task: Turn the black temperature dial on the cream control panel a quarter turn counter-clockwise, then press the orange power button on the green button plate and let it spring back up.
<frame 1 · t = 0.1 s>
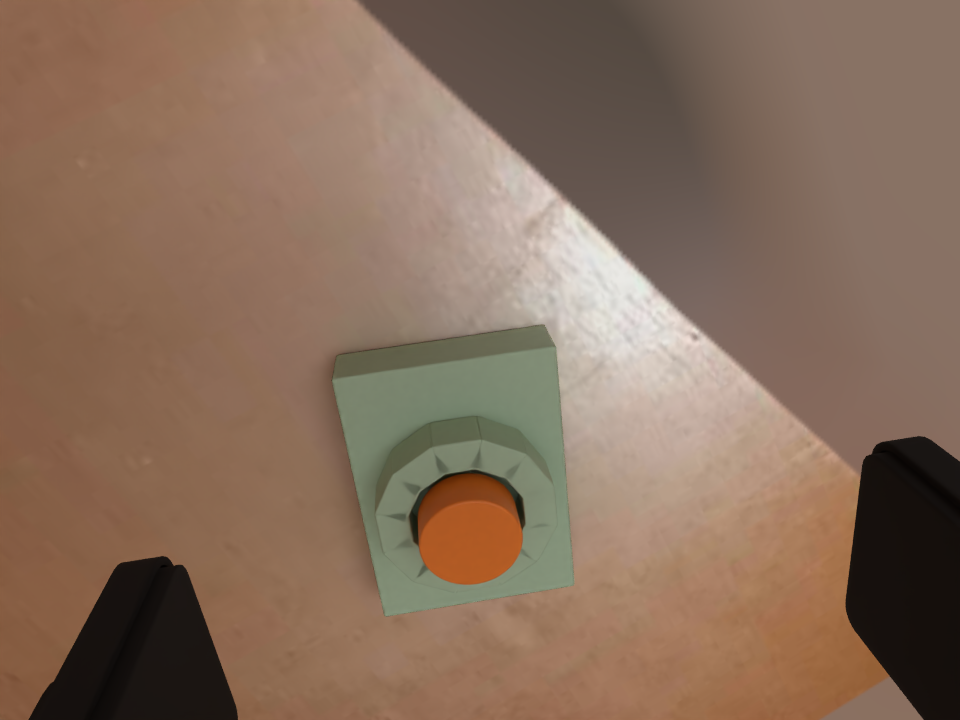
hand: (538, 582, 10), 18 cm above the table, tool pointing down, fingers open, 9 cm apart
green button plate: (459, 461, 30), on the table
kettle switch: (469, 528, 26), point 4 cm above the table, slide at 0.1 cm
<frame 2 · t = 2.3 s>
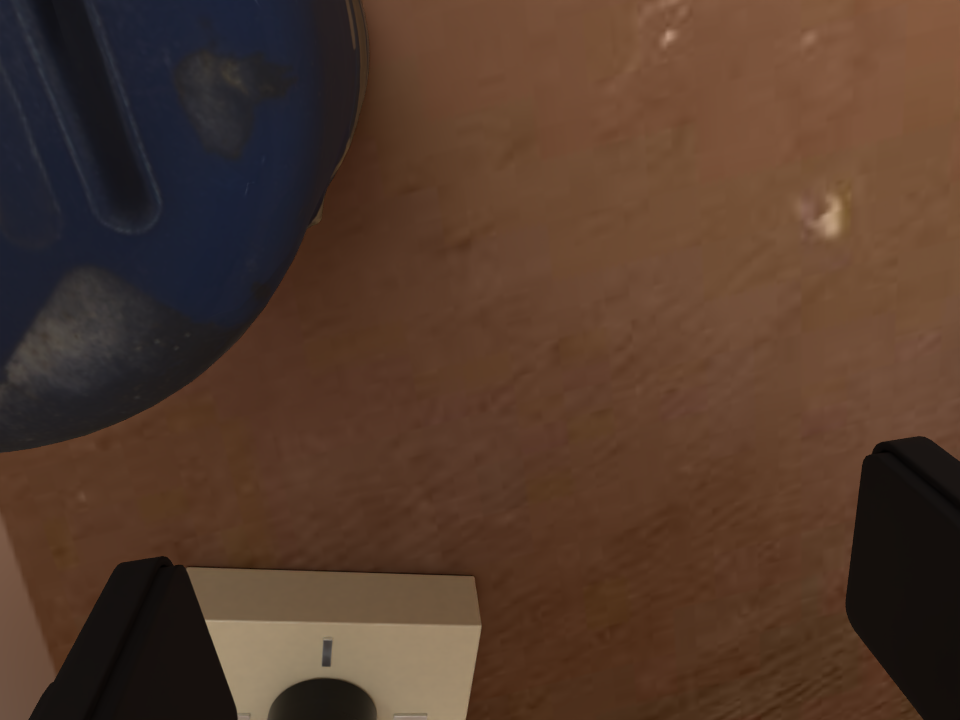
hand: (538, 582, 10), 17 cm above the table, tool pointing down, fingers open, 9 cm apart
canister: (216, 45, 22), on the table
dial panel: (329, 659, 32), on the table
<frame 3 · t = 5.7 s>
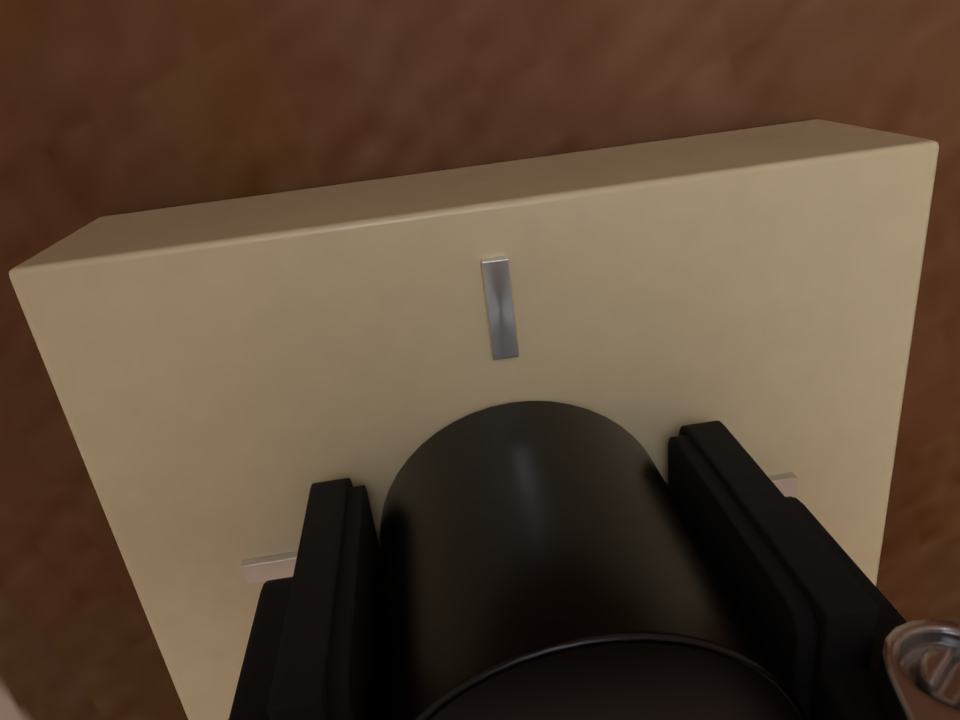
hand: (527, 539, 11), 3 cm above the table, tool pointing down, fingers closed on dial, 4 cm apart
dial: (554, 645, 9), point 5 cm above the table, hinge at 0.1°, touching gripper
dial panel: (498, 429, 14), on the table
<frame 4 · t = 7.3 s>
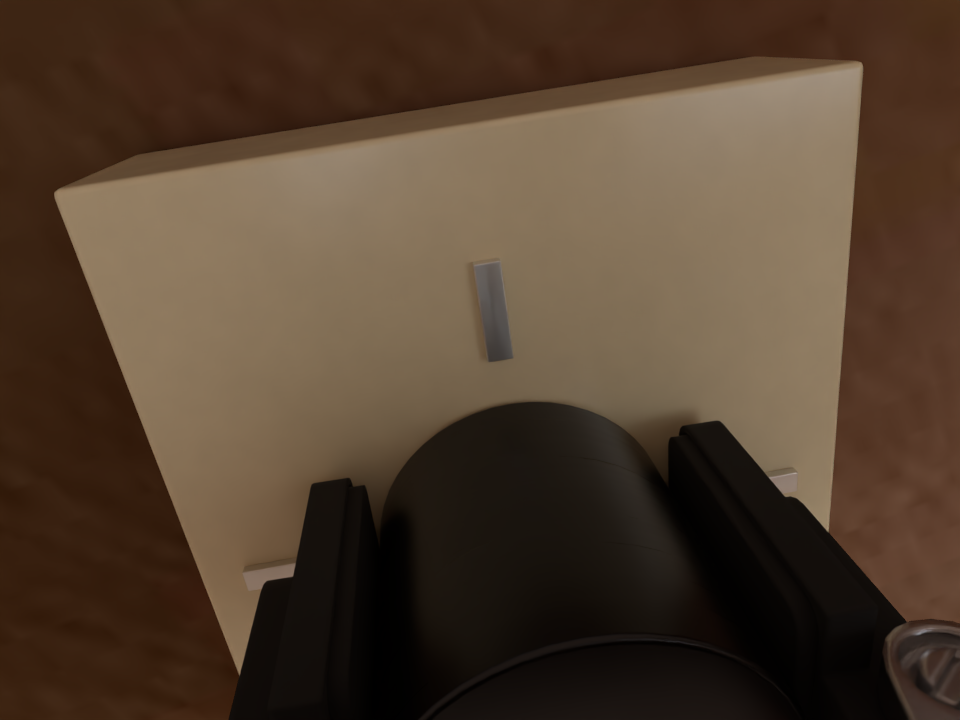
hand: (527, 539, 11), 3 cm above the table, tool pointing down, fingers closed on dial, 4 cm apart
dial: (555, 645, 9), point 5 cm above the table, hinge at 88.6°, touching gripper
dial panel: (499, 430, 14), on the table
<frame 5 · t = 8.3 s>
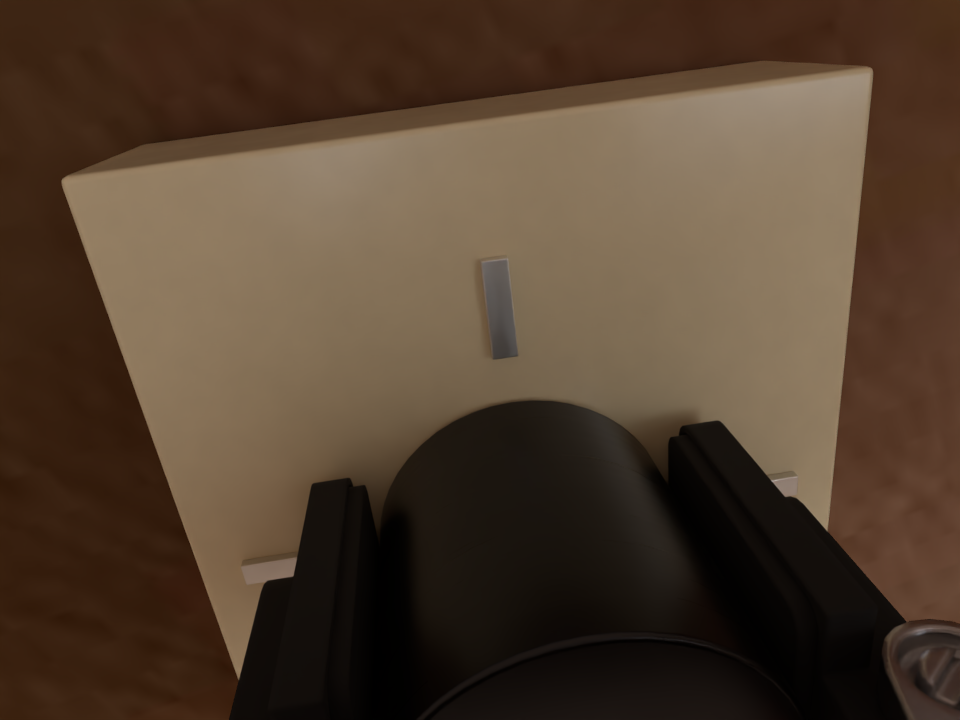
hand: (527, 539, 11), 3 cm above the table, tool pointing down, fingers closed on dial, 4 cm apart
dial: (555, 644, 9), point 5 cm above the table, hinge at 89.7°, touching gripper
dial panel: (499, 428, 14), on the table
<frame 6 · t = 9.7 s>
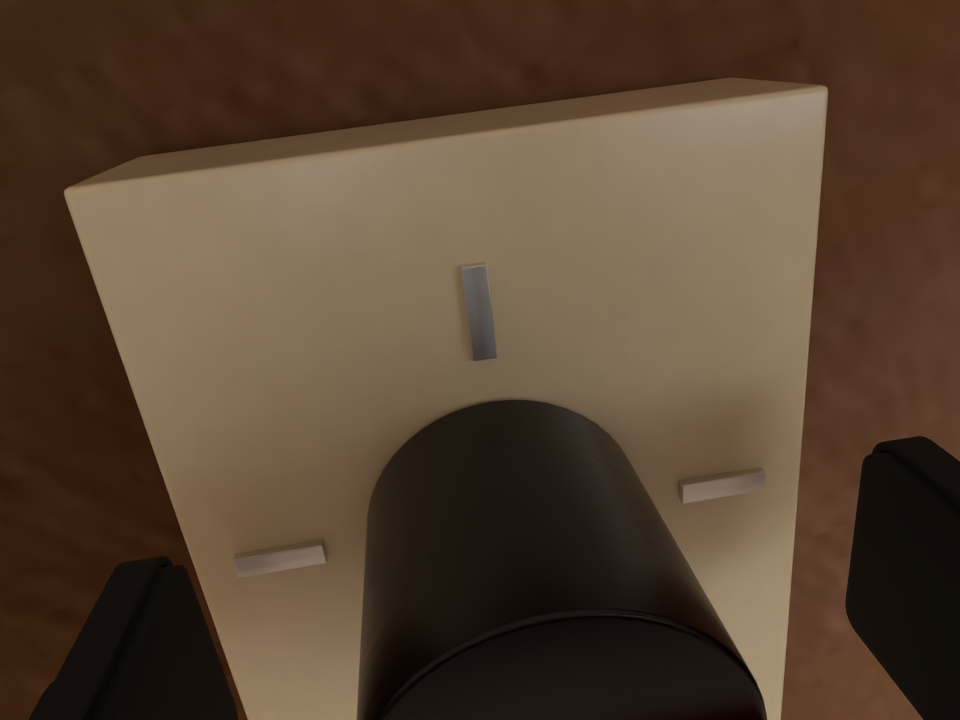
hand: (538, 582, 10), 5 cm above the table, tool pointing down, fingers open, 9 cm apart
dial: (531, 629, 9), point 5 cm above the table, hinge at 89.5°
dial panel: (483, 429, 14), on the table
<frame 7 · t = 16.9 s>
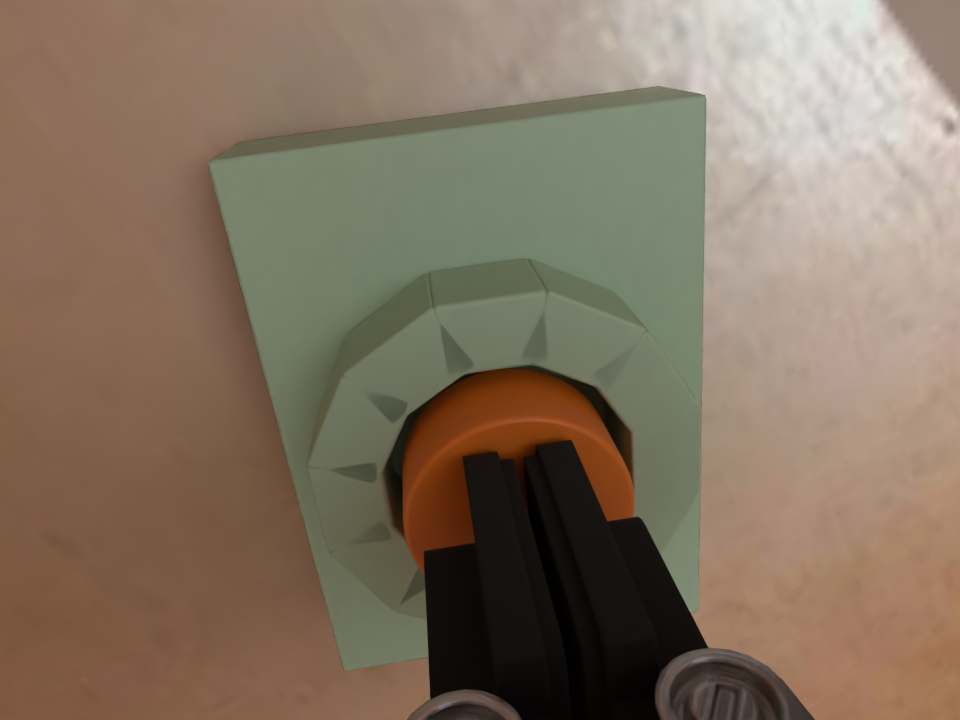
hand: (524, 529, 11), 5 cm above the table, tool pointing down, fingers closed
green button plate: (484, 378, 16), on the table
kettle switch: (513, 488, 12), point 4 cm above the table, slide at -0.2 cm, touching gripper
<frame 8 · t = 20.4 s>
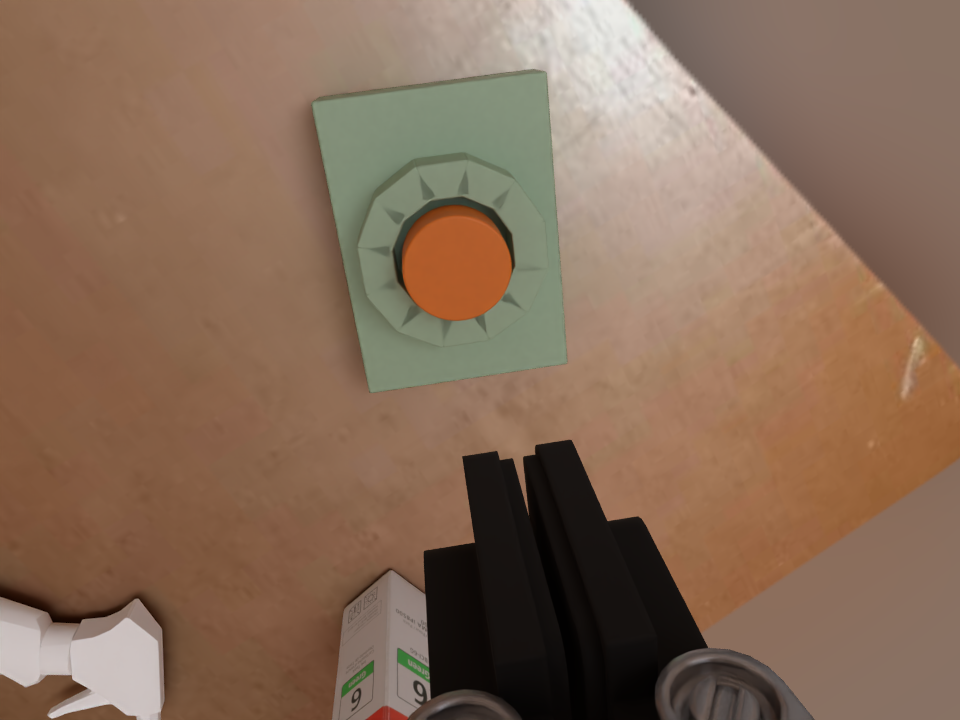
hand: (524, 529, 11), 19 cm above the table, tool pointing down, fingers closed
green button plate: (447, 231, 28), on the table
kettle switch: (455, 262, 24), point 4 cm above the table, slide at 0.1 cm
ink box: (422, 625, 37), on the table
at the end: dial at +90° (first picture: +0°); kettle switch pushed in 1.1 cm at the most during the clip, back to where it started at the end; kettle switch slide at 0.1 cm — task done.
